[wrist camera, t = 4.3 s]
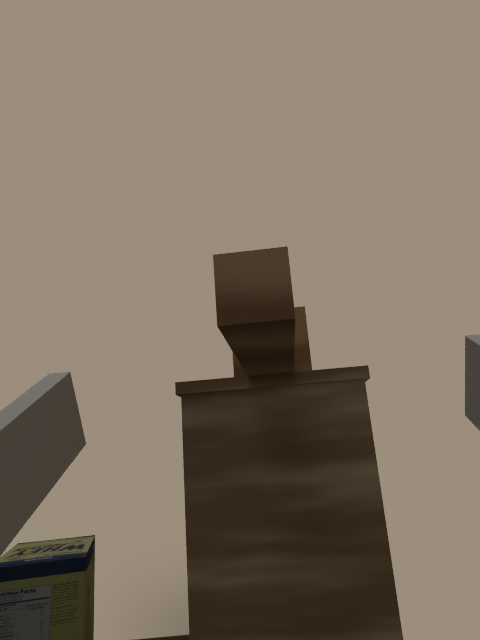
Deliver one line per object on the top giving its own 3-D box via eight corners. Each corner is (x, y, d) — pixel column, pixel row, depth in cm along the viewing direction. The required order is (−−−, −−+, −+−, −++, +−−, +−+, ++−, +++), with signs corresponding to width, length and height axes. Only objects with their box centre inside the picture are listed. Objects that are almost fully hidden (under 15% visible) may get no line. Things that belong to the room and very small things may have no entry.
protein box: (93, 659, 61) (95, 533, 65) (84, 721, 46) (87, 554, 51) (8, 674, 58) (16, 542, 63) (-30, 744, 44) (-16, 566, 48)
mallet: (335, 314, 17) (316, 176, 19) (179, 330, 18) (174, 194, 19) (310, 391, 40) (302, 325, 42) (243, 396, 41) (238, 332, 42)
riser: (467, 1015, 21) (368, 365, 29) (194, 1006, 22) (175, 382, 30) (402, 805, 33) (345, 389, 41) (229, 806, 34) (208, 401, 42)
